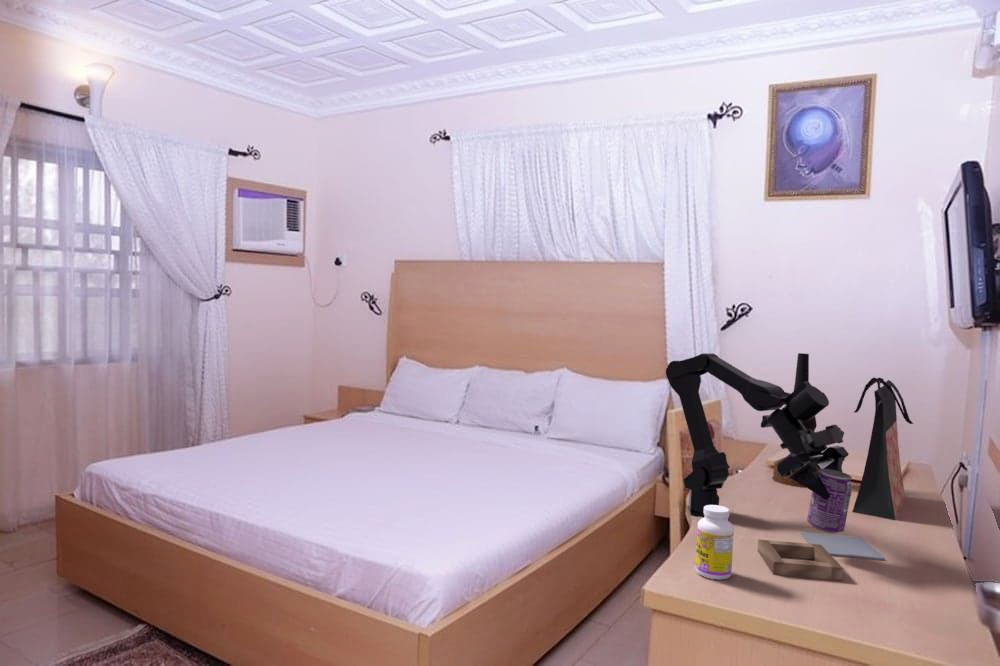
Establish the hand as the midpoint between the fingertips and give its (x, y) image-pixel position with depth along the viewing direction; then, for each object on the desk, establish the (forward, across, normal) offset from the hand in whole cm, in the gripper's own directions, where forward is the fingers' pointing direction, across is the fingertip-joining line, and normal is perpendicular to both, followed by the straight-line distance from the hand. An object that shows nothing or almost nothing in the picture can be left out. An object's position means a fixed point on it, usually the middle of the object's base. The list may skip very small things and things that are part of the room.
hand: (837, 496), depth 137 cm
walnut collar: (+8, -10, +10) cm, 17 cm away
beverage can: (+4, 0, +7) cm, 8 cm away
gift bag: (-2, +49, +21) cm, 54 cm away
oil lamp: (-20, +53, +39) cm, 69 cm away
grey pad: (+7, +9, +12) cm, 16 cm away
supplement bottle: (+5, -30, +14) cm, 33 cm away
